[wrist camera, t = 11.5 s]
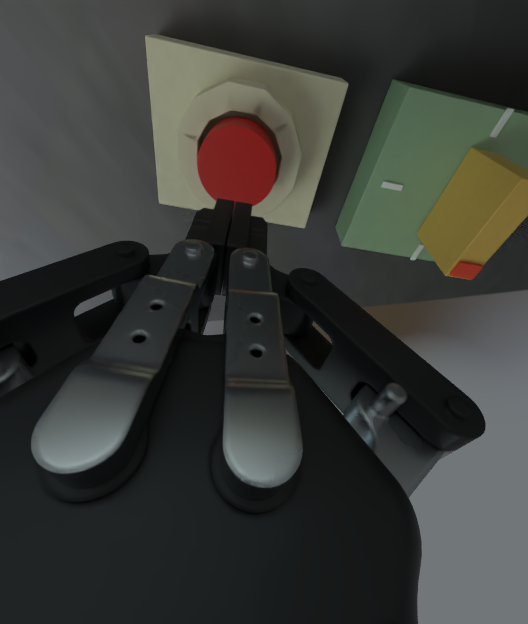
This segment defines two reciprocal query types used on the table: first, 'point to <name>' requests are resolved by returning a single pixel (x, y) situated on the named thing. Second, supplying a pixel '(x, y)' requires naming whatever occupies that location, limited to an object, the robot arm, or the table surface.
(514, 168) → the lock turn
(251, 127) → the button
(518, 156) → the plate
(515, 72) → the table surface
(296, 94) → the box
